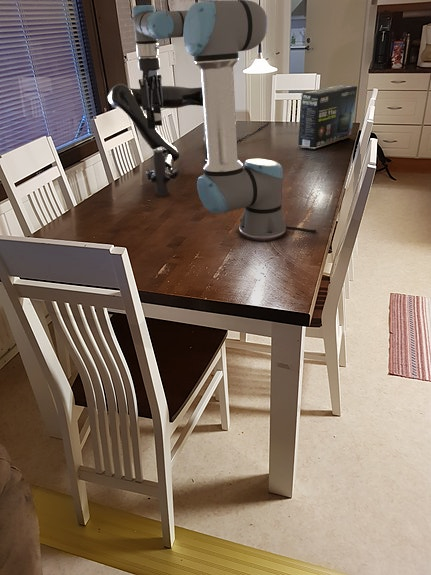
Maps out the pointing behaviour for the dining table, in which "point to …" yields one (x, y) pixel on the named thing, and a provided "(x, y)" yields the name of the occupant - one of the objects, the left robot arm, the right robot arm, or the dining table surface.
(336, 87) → the router box
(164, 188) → the dark grey column
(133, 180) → the dining table surface
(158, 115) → the lid
